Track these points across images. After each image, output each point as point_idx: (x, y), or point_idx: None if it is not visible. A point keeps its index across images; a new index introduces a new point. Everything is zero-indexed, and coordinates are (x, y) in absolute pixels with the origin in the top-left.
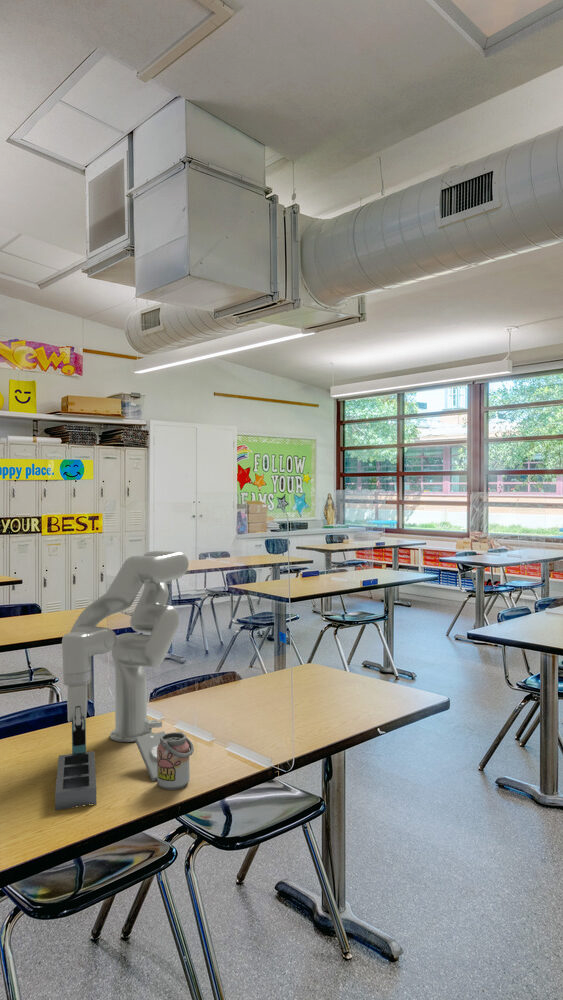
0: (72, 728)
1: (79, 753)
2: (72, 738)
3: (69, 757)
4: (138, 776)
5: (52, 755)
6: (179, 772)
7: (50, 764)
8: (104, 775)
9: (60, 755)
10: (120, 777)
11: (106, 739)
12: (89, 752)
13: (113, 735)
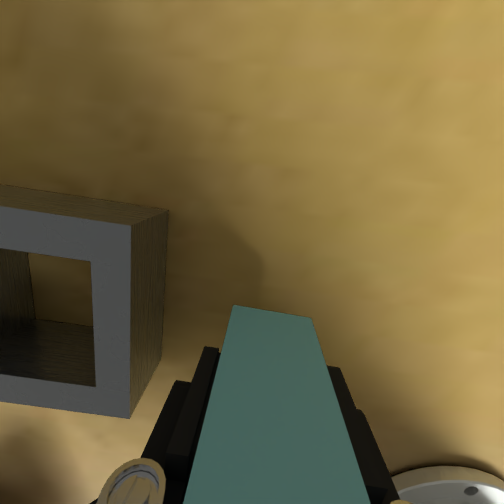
0: (186, 492)
1: (121, 348)
2: (214, 379)
3: (95, 285)
4: (6, 459)
5: (412, 204)
6: None
7: (278, 178)
8: None
9: (129, 237)
10: (11, 414)
11: (454, 447)
12: (119, 396)
13: (444, 488)
